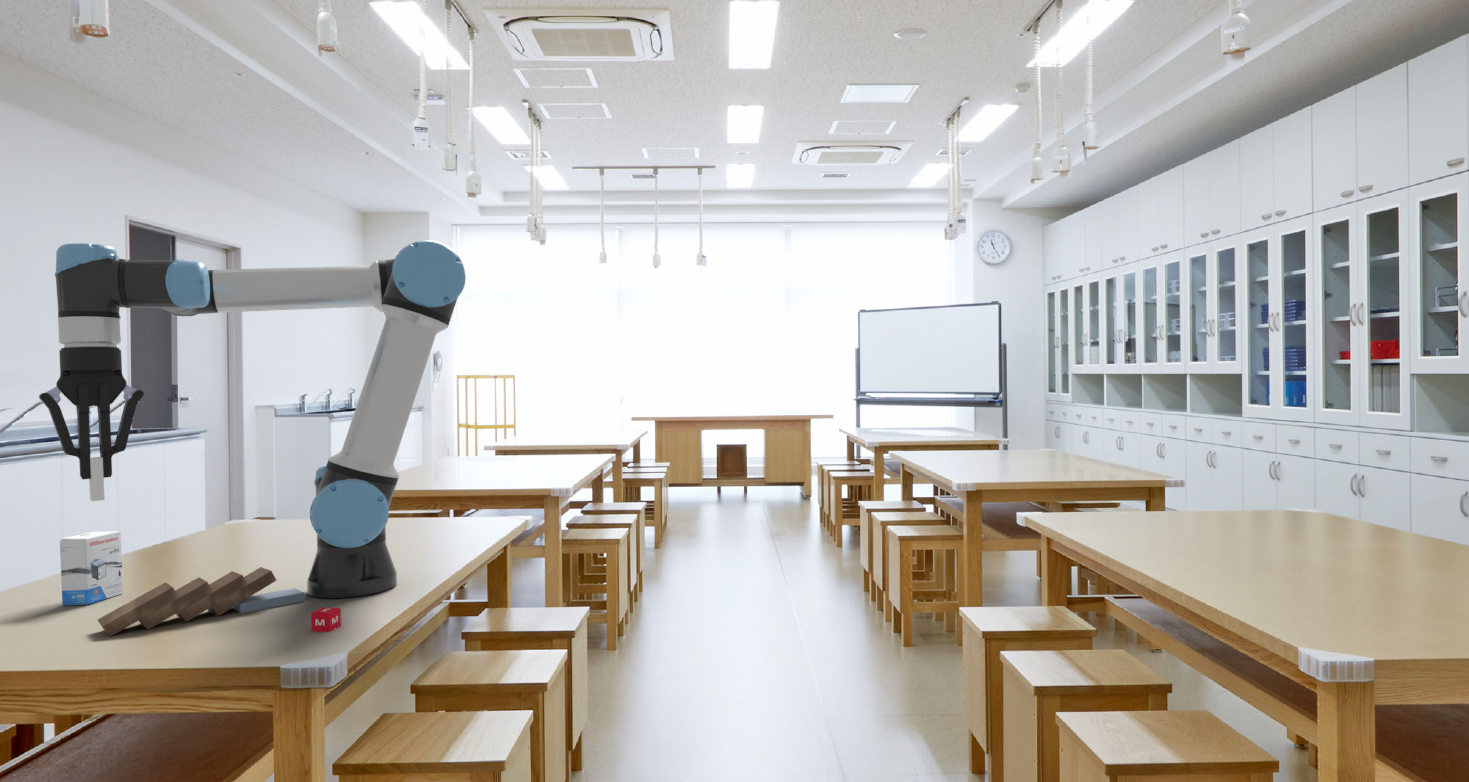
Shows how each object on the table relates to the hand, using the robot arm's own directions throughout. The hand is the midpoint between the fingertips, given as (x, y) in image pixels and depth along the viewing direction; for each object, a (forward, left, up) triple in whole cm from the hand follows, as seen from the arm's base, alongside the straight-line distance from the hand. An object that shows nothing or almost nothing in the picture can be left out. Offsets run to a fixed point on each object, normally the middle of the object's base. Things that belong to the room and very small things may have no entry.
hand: (97, 499), depth 129 cm
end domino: (0, 0, -20) cm, 20 cm away
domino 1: (-4, -3, -20) cm, 21 cm away
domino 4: (-14, -12, -20) cm, 27 cm away
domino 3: (-11, -10, -20) cm, 25 cm away
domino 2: (-8, -7, -20) cm, 22 cm away
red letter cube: (-34, +1, -21) cm, 40 cm away
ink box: (+17, -23, -21) cm, 35 cm away
